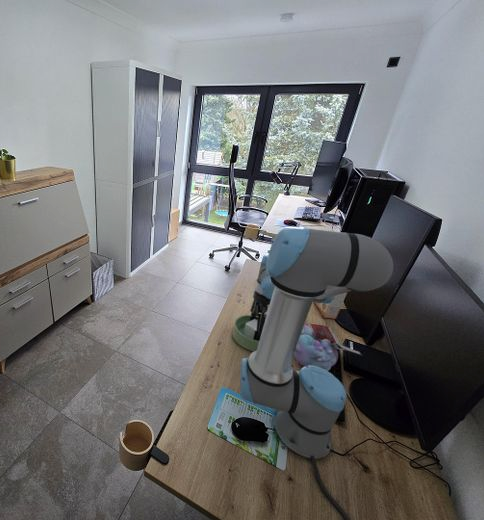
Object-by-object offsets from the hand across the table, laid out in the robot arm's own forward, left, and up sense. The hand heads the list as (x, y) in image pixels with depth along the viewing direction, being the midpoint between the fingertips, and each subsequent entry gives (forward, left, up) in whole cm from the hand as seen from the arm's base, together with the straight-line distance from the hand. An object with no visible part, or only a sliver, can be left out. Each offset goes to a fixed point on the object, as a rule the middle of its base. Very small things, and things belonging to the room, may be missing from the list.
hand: (253, 335), depth 124 cm
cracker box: (+27, -40, -2) cm, 48 cm away
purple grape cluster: (-7, -22, -2) cm, 23 cm away
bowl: (0, 0, -2) cm, 2 cm away
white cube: (0, 0, 0) cm, 0 cm away
